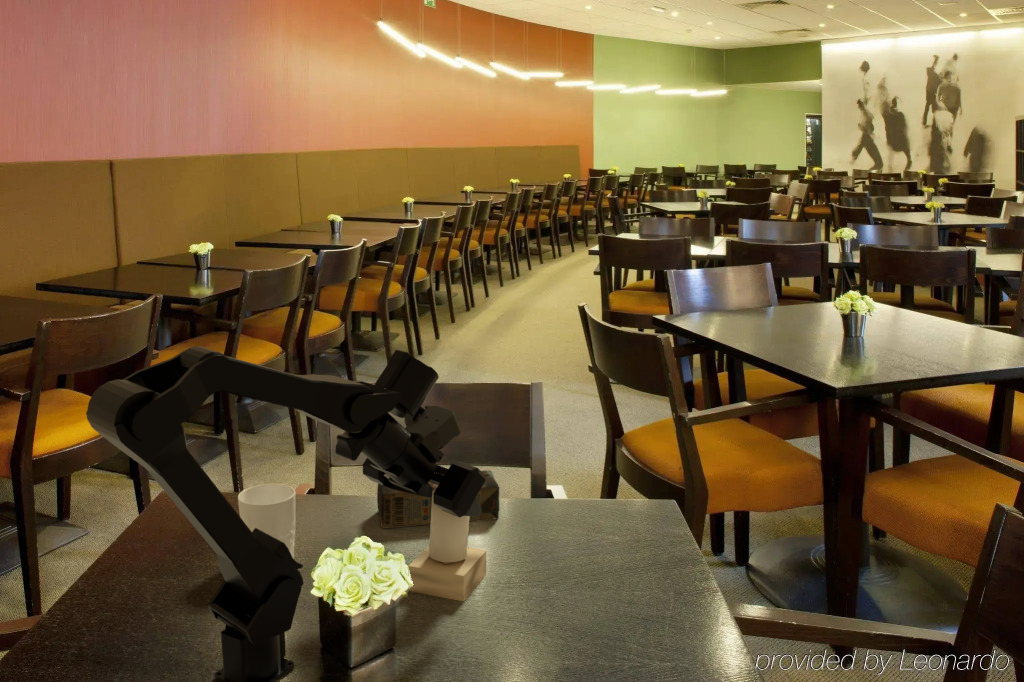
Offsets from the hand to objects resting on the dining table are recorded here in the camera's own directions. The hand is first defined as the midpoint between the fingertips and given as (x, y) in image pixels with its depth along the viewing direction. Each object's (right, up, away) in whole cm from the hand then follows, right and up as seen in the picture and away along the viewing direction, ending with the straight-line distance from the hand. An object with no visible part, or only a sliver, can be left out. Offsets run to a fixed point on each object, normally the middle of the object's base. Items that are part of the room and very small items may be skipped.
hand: (455, 503), depth 122 cm
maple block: (-1, -11, +2) cm, 12 cm away
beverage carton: (-4, -7, +24) cm, 25 cm away
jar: (-1, -7, +1) cm, 7 cm away
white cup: (-27, -10, +8) cm, 30 cm away
